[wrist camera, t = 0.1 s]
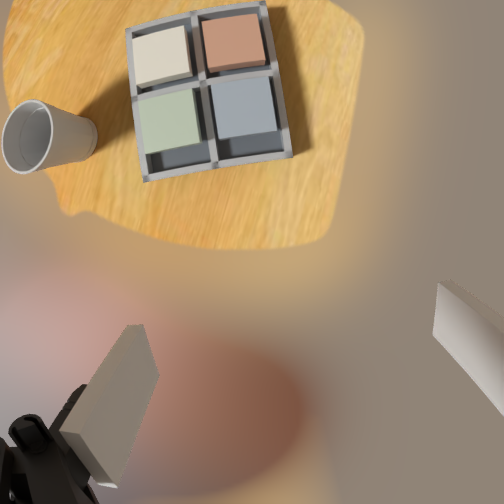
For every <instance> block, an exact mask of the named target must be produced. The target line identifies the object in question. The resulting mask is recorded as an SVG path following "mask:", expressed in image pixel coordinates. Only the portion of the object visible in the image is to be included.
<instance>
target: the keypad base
mask: <svg viewBox="0 0 504 504" xmlns="http://www.w3.org/2000/svg"><path fill="white" fill-rule="evenodd" d="M248 14H257V17H258V22H259V27H260V33H261V38H262V43H263V49H264V54H265V65H260V66H252V67H244V68H237V69H231V70H224V71H218V72H213V73H210V71H209V69H208V63H207V56H206V49H205V42H204V35H203V28H202V22H203V21H208V20H214V19H220V18H226V17H233V16H240V15H248ZM183 25H184V27H185V29H186V31H187V36H188V44H189V52H190V60H191V67H192V74H193V76H192V77H187V78H183V79H178V80H174V81H169V82H165V83H161V84H157V85H153V86H149V87H146V88H140V87H139V86H137V85H136V79H135V69H134V57H133V45H132V39H134V38H137V37H141V36H144V35H148V34H151V33H155V32H159V31H162V30H166V29H170V28H175V27H179V26H183ZM125 30H126V47H127V60H128V72H129V82H130V92H131V101H132V110H133V118H134V125H135V133H136V140H137V147H138V153H139V160H140V166H141V172H142V178H143V183H144V182H149V181H154V180H159V179H163V178H168V177H173V176H179V175H184V174H189V173H195V172H200V171H206V170H212V169H217V168H223V167H230V166H236V165H243V164H249V163H256V162H263V161H271V160H278V159H286V158H293V153H292V146H291V140H290V133H289V126H288V120H287V114H286V108H285V101H284V95H283V90H282V84H281V78H280V72H279V67H278V61H277V56H276V51H275V45H274V40H273V35H272V30H271V25H270V20H269V15H268V11H267V6H266V1H265V0H264V1H254V2H245V3H237V4H230V5H223V6H217V7H211V8H205V9H200V10H195V11H190V12H186V13H181V14H177V15H173V16H169V17H165V18H161V19H157V20H153V21H150V22H146V23H143V24H139V25H136V26H133V27H130V28H127V29H125ZM259 77H269V83H270V89H271V95H272V101H273V107H274V113H275V119H276V126H277V132H275V133H268V134H260V135H253V136H246V137H239V138H233V139H227V140H219V137H218V130H217V124H216V117H215V110H214V104H213V97H212V90H211V85H213V84H218V83H224V82H231V81H237V80H244V79H251V78H259ZM187 89H193V91H194V92H195V96H196V103H197V110H198V117H199V123H200V130H201V137H202V143H203V144H198V145H193V146H188V147H183V148H178V149H173V150H168V151H164V152H159V153H155V154H145V150H144V143H143V136H142V129H141V122H140V114H139V106H138V101H141V100H145V99H149V98H153V97H157V96H161V95H165V94H169V93H173V92H178V91H182V90H187Z"/></svg>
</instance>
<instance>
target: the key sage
mask: <svg viewBox="0 0 504 504" xmlns="http://www.w3.org/2000/svg"><path fill="white" fill-rule="evenodd" d="M138 106H139V114H140V122H141V129H142V136H143V143H144V150H145V154H155V153H159V152H164V151H168V150H173V149H178V148H183V147H188V146H193V145H198V144H203V143H202V137H201V130H200V123H199V117H198V110H197V103H196V96H195V92H194V91H193V89H187V90H182V91H178V92H173V93H169V94H165V95H161V96H157V97H153V98H149V99H145V100H141V101H138Z"/></svg>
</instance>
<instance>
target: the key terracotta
mask: <svg viewBox="0 0 504 504" xmlns="http://www.w3.org/2000/svg"><path fill="white" fill-rule="evenodd" d="M202 28H203V35H204V42H205V49H206V56H207V63H208V69H209V71H210V73H213V72H218V71H224V70H231V69H237V68H244V67H252V66H260V65H265V54H264V49H263V43H262V38H261V33H260V27H259V22H258V17H257V14H248V15H240V16H233V17H226V18H220V19H214V20H208V21H203V22H202Z"/></svg>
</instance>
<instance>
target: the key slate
mask: <svg viewBox="0 0 504 504" xmlns="http://www.w3.org/2000/svg"><path fill="white" fill-rule="evenodd" d="M211 90H212V97H213V104H214V110H215V117H216V124H217V130H218V137H219V140H227V139H233V138H239V137H246V136H253V135H260V134H268V133H275V132H277V126H276V119H275V113H274V107H273V101H272V95H271V89H270V83H269V77H259V78H251V79H244V80H237V81H231V82H224V83H218V84H213V85H211Z"/></svg>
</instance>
